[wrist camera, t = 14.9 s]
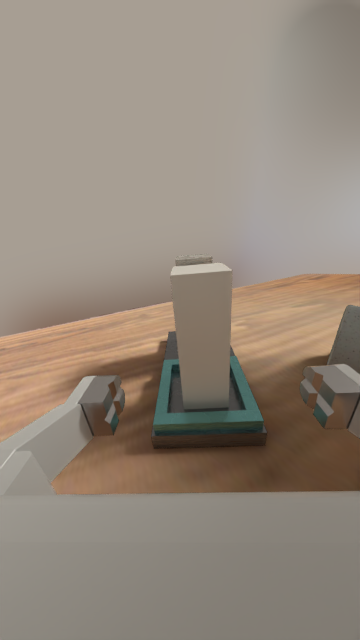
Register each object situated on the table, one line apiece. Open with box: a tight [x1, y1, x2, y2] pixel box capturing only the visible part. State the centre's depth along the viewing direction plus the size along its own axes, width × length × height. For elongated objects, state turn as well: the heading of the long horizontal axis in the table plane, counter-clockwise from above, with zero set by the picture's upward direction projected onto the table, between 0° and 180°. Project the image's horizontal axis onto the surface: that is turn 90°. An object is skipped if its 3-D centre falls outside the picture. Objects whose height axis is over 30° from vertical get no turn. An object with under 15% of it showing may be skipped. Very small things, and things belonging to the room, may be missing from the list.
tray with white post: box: [151, 254, 267, 449], centre depth 21 cm, size 18×9×14 cm, turn 179°
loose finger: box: [170, 263, 232, 409], centre depth 17 cm, size 4×4×12 cm
